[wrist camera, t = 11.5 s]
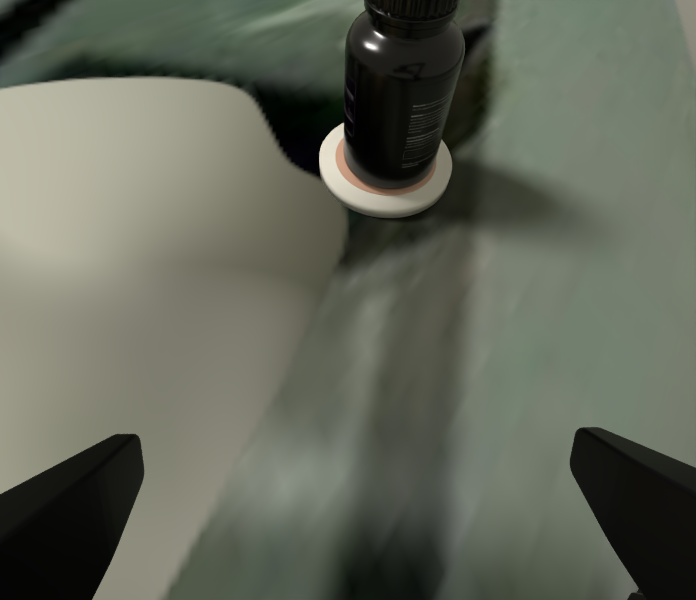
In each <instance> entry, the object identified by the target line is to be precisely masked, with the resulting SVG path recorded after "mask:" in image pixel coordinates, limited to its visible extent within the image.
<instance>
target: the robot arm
mask: <svg viewBox="0 0 696 600" xmlns="http://www.w3.org/2000/svg"><path fill="white" fill-rule="evenodd" d="M570 468H571V471H572V474H573V476H574V478H575V480H576V482H577V483H578V485H579V487H580V489H581V491H582V493H583V495H584V496H585V498H586V500H587V502H588V504H589V506H590V508H591V510H592V511H593V513H594V515H595V517H596V519H597V521H598V523H599V524H600V526H601V528H602V530H603V532H604V534H605V535H606V537H607V539H608V541H609V542H610V544H611V546H612V547H613V549H614V551H615V552H616V554H617V555H618V557H619V559H620V560H621V562H622V563H623V565H624V566H625V568H626V569H627V571H628V572H629V574H630V575H631V577H632V579H633V580H634V582H635V583H636V585H637V586H638V588H639V589H638V591H637V593H631V594H630V596H629V598H628V599H627V600H696V468H695V467H693V466H690V465H688V464H685V463H683V462H681V461H678V460H676V459H674V458H671V457H669V456H666V455H664V454H662V453H659V452H657V451H654V450H652V449H650V448H647V447H645V446H642V445H640V444H638V443H635V442H633V441H631V440H628V439H626V438H623V437H621V436H619V435H616V434H614V433H611V432H609V431H607V430H604V429H602V428H598V427H583V428H579V429H578V430H577V431H576V433H575V437H574V442H573V447H572V452H571V457H570ZM143 478H144V464H143V456H142V449H141V442H140V438H139V436H137V435H136V434H115V435H113V436H111V437H109V438H107V439H105V440H103V441H101V442H99V443H97V444H96V445H94V446H92V447H90V448H88V449H86V450H84V451H82V452H80V453H78V454H76V455H74V456H73V457H71V458H69V459H67V460H65V461H63V462H61V463H59V464H57V465H55V466H53V467H52V468H50V469H48V470H46V471H44V472H42V473H40V474H38V475H36V476H34V477H32V478H30V479H29V480H27V481H25V482H23V483H21V484H19V485H17V486H15V487H13V488H12V489H9V490H8V491H6V492H4V493H2V494H0V600H92V599H93V596H94V594H95V593H96V591H97V589H98V587H99V585H100V583H101V581H102V579H103V577H104V575H105V573H106V571H107V569H108V567H109V565H110V562H111V560H112V558H113V556H114V553H115V551H116V548H117V546H118V544H119V541H120V538H121V536H122V533H123V531H124V528H125V526H126V523H127V520H128V518H129V515H130V513H131V510H132V508H133V505H134V502H135V500H136V497H137V495H138V492H139V490H140V487H141V484H142V481H143Z"/></svg>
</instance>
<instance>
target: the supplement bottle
mask: <svg viewBox="0 0 696 600" xmlns="http://www.w3.org/2000/svg"><path fill="white" fill-rule="evenodd" d="M459 2H460V0H364V6H365V9H366V10H365V11H364V12H362V13H361V14H360V15H359V16H358V17H357V18H356V19H355V20H354V22H353V23H352V25H351V27H350V29H349V31H348V34H347V37H346V47H345V85H344V135H343V153H344V159H345V162H346V165H347V167H348V168H349V170H350V171H351V172H352V174H353V175H354V176H356V177H357V178H358V179H359V180H361V181H362V182H364V183H366V184H368V185H370V186H373V187H377V188H381V189H403V188H407V187H410V186H413V185H415V184H417V183H419V182H421V181H422V180H423V179H424V178H426V177H427V176H428V174H429V173H430V172H431V170H432V169H433V166H434V164H435V161H436V157H437V154H438V150H439V147H440V143H441V139H442V136H443V132H444V128H445V125H446V121H447V117H448V114H449V110H450V106H451V103H452V99H453V96H454V92H455V88H456V85H457V81H458V77H459V74H460V70H461V66H462V62H463V58H464V53H465V43H464V38H463V34H462V32H461V29H460V27H459V26H458V24H457V23H456V22H455V20H454V18H455V16H456V14H457V11H458V7H459Z"/></svg>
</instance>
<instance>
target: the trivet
mask: <svg viewBox="0 0 696 600" xmlns="http://www.w3.org/2000/svg"><path fill="white" fill-rule="evenodd" d="M343 135H344V123H342V124H341V125H339V126H338V127H336V128H335V129H334V130H332V131H331V132H330V133H329V135H328V136H327V137H326V138H325V140H324V142H323V144H322V146H321V149H320V155H319V163H320V175H321V179H322V181H323V184H324V186H325V187H326V189H327V190H328V192H329V193H330V194H331V195H332V196H333V197H334V198H335V199H336V200H337V201H338V202H340V203H341V204H342V205H344V206H346V207H347V208H349V209H351V210H353V211H356V212H358V213H361V214H364V215H368V216H372V217H379V218H400V217H406V216H411V215H414V214H417V213H420V212H422V211H424V210H426V209H428V208H429V207H431V206H432V205H433V204H435V203H436V202H437V201H438V200H439V199H440V198H441V196H442V195H443V193H444V192H445V190H446V187H447V185H448V182H449V179H450V176H451V172H452V160H451V155H450V153H449V150H448V148H447V147H446V145H445V143H444V142H443V141H442V140H441V143H440V147H439V150H438V154H437V157H436V161H435V164H434V166H433V169H432V170H431V172H430V173H429V174H428V176H427V177H426V178H424V179H423V180H422V181H421V182H419V183H417V184H415V185H413V186H410V187H407V188H403V189H381V188H377V187H373V186H370V185H368V184H366V183H364V182H362V181H361V180H359V179H358V178H357V177H356V176H354V175H353V174H352V172H351V171H350V170H349V168H348V167H347V165H346V162H345V159H344V153H343Z"/></svg>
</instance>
